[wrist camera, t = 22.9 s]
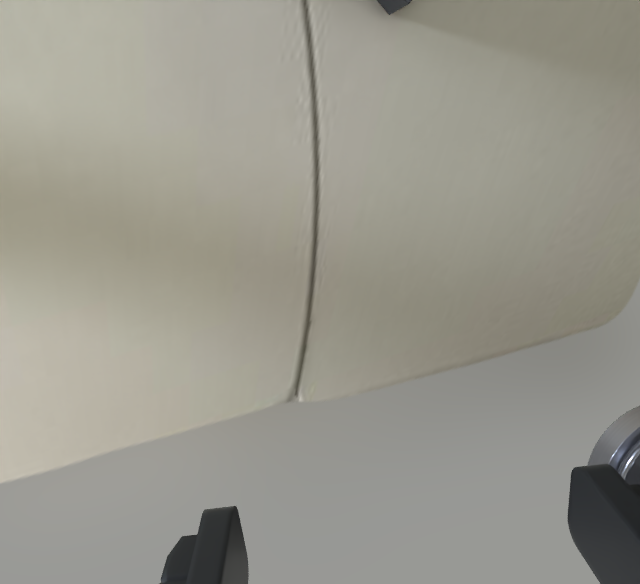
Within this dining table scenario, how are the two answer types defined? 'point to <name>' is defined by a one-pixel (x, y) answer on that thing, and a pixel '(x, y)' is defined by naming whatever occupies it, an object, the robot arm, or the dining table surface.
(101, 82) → the dining table surface
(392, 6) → the scale
